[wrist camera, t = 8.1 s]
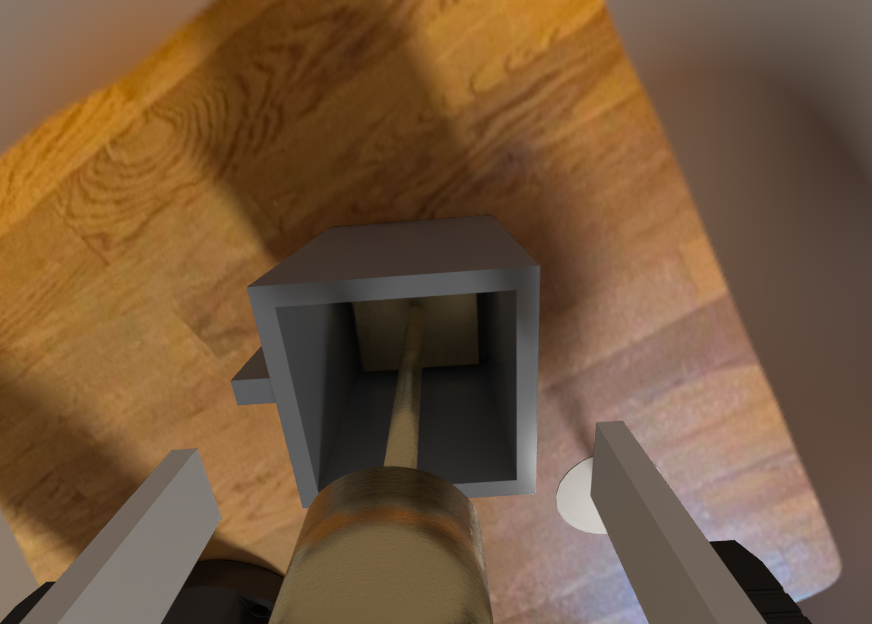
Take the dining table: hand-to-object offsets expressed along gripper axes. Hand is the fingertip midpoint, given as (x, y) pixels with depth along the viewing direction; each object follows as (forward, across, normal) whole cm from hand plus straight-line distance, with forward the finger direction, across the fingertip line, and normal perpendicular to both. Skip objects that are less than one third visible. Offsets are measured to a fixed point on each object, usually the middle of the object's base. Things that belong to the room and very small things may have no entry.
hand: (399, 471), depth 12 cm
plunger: (+14, 0, 0) cm, 14 cm away
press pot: (+16, -1, 0) cm, 16 cm away
